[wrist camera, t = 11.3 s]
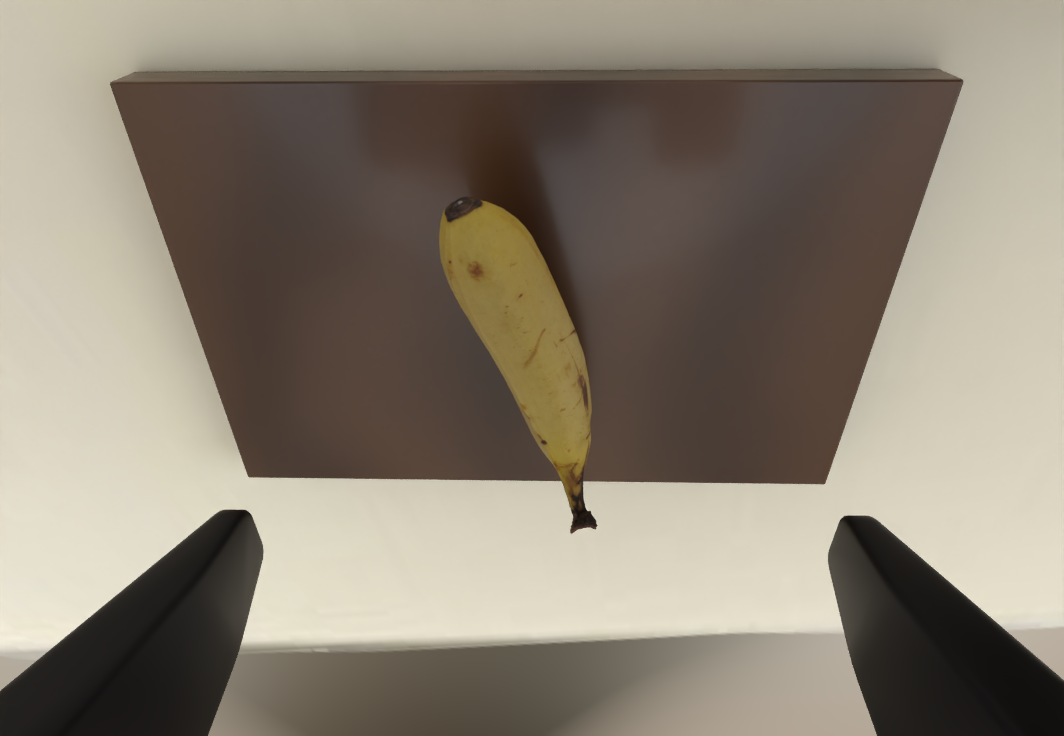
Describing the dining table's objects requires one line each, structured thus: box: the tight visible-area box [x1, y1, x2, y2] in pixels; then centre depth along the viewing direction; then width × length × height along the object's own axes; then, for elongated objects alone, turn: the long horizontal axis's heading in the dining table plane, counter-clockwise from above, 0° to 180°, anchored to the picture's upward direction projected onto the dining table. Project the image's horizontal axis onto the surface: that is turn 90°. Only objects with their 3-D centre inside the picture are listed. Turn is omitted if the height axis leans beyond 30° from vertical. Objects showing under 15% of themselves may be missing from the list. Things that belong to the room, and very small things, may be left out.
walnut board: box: [110, 69, 963, 484], centre depth 20 cm, size 20×13×1 cm, turn 91°
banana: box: [439, 197, 597, 533], centre depth 18 cm, size 10×2×4 cm, turn 17°
